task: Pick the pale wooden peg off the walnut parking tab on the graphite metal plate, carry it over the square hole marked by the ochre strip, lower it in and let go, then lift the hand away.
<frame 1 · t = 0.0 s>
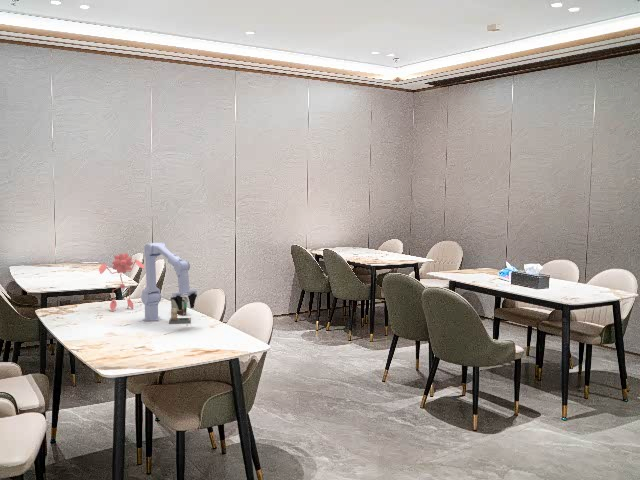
hand: (186, 309, 330), 11 cm above the table, tool pointing down, fingers open, 7 cm apart
plate: (179, 322, 346), on the table
peg: (174, 319, 345), point 2 cm above the table, touching plate
figurine: (123, 311, 374), on the table
food container: (181, 314, 368), on the table
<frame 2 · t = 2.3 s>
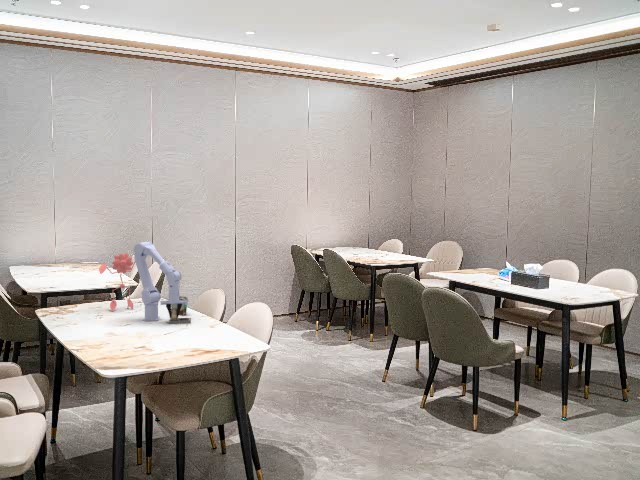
hand: (174, 317, 345), 3 cm above the table, tool pointing down, fingers closed on peg, 3 cm apart
peg: (174, 319, 345), point 2 cm above the table, touching gripper, plate
everything else where it was.
when the fingers open (4 cm above the table, at t = 5.7 s): peg drops 3 cm, resting in plate.
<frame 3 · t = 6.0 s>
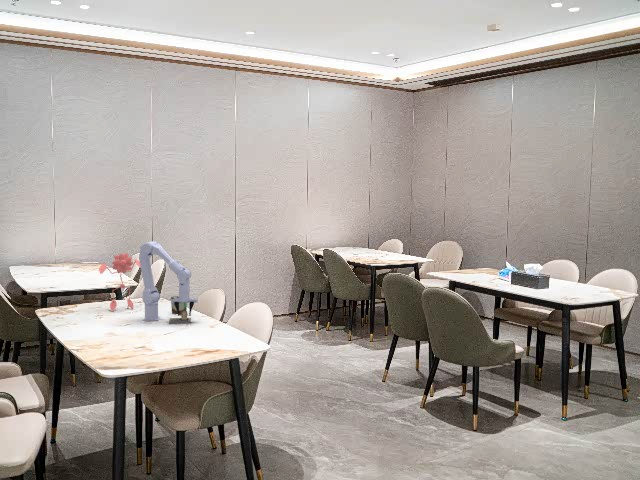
hand: (184, 315, 346), 4 cm above the table, tool pointing down, fingers open, 5 cm apart
peg: (184, 322, 346), resting in plate
everything else where it was.
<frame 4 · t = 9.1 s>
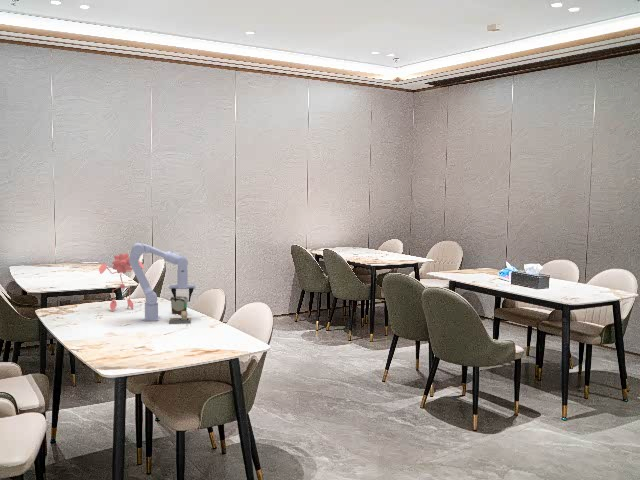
hand: (182, 301, 355), 10 cm above the table, tool pointing down, fingers open, 7 cm apart
nothing on the table moved.
at the end: peg 0.0 cm from the target spot on the plate, point 0.0 cm above the plate's base; the gripper is holding nothing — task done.
